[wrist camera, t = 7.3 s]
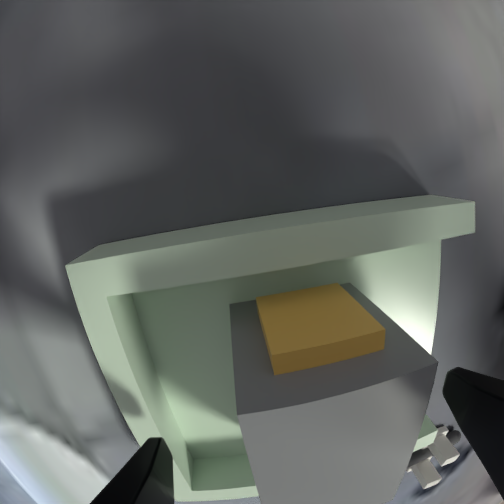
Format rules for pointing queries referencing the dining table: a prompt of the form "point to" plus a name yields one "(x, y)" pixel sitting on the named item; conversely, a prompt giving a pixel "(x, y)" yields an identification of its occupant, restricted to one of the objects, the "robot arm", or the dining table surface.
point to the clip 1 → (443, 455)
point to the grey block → (327, 395)
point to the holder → (240, 290)
